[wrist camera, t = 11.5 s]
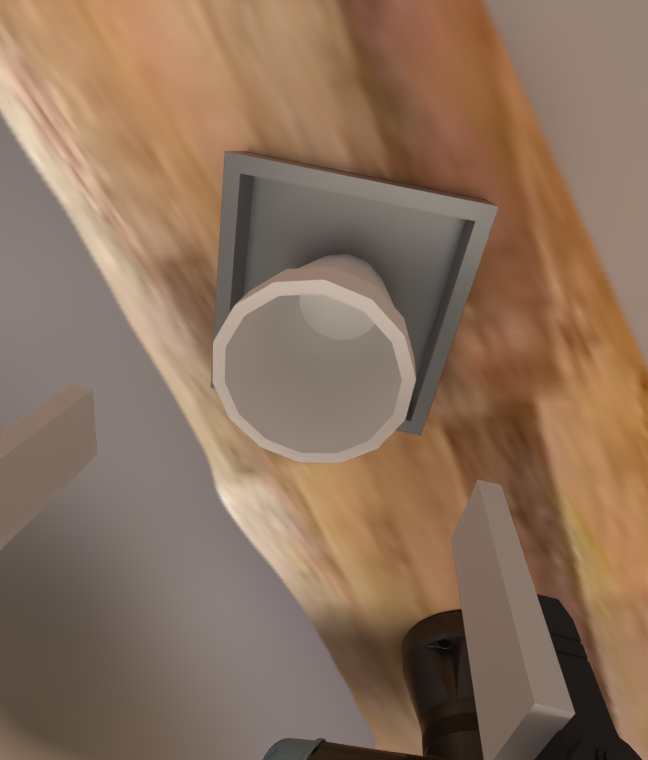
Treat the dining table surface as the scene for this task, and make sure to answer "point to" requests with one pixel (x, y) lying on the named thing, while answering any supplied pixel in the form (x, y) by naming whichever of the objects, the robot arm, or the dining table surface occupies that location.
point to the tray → (355, 246)
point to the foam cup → (316, 362)
